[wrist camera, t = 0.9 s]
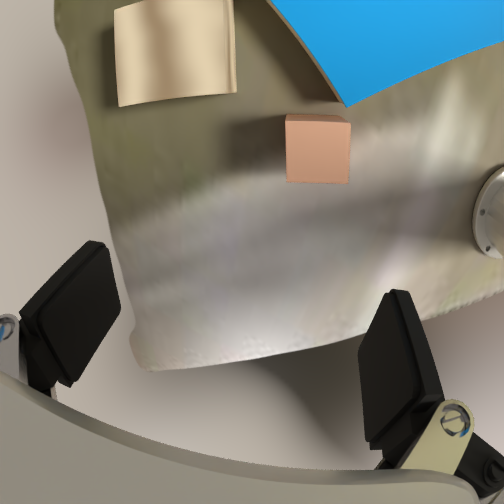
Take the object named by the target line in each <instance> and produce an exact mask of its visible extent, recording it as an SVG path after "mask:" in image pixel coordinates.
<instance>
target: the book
mask: <svg viewBox="0 0 504 504" xmlns="http://www.w3.org/2000/svg"><path fill="white" fill-rule="evenodd" d="M266 1H267V2H268V3H269V5H270V6H271V7H272V8H273V9H274V11H275V12H276V13H277V14H278V15H279V17H280V18H281V19H282V20H283V22H284V23H285V24H286V25H287V27H288V28H289V29H290V31H291V32H292V33H293V34H294V36H295V37H296V38H297V40H298V41H299V42H300V44H301V45H302V47H303V48H304V49H305V51H306V52H307V54H308V55H309V56H310V58H311V59H312V61H313V62H314V64H315V65H316V67H317V68H318V69H319V71H320V72H321V74H322V75H323V77H324V79H325V80H326V82H327V83H328V85H329V86H330V88H331V89H332V91H333V93H334V94H335V96H336V98H337V99H338V101H339V102H340V103H343V104H344V105H345V106H346V107H349V106H351V105H353V104H355V103H357V102H359V101H361V100H363V99H365V98H367V97H369V96H371V95H373V94H375V93H377V92H379V91H381V90H383V89H386V88H388V87H390V86H392V85H394V84H396V83H398V82H401V81H403V80H405V79H407V78H409V77H412V76H414V75H416V74H418V73H421V72H423V71H425V70H428V69H430V68H432V67H435V66H437V65H440V64H442V63H445V62H447V61H450V60H452V59H455V58H457V57H460V56H462V55H465V54H468V53H470V52H473V51H476V50H479V49H481V48H484V47H487V46H490V45H493V44H496V43H499V42H502V41H504V0H266Z"/></svg>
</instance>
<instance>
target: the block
mask: <svg viewBox="0 0 504 504" xmlns="http://www.w3.org/2000/svg"><path fill="white" fill-rule="evenodd" d="M285 128H286V174H287V182H303V183H338V184H348V178H349V159H350V131H351V123H350V122H348V121H347V120H345V119H343V118H342V117H340V116H334V115H304V114H287V115H286V120H285Z"/></svg>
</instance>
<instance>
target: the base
mask: <svg viewBox="0 0 504 504" xmlns="http://www.w3.org/2000/svg"><path fill="white" fill-rule="evenodd" d="M114 32H115V62H116V78H117V91H118V102H119V107H122V106H127V105H133V104H138V103H144V102H150V101H157V100H164V99H171V98H179V97H188V96H198V95H210V94H225V93H235V92H237V88H236V62H235V33H234V2H233V0H145V1H142V2H138V3H135V4H131V5H128V6H125V7H122V8H119V9H116V10H114Z"/></svg>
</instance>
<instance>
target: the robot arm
mask: <svg viewBox="0 0 504 504" xmlns="http://www.w3.org/2000/svg"><path fill="white" fill-rule="evenodd" d="M472 224H473V234H474V238H475V240H476V243H477V245H478V246H479V247H480V249H481V250H482V251H483V252H484V253H485V254H486V255H488V256H489V257H492V258H495V259H502V258H504V167H502V168H500V169H499V170H497V171H496V172H495V173H494V174H493V175H491V176H490V178H489V179H488V180H487V181H486V183H485V184H484V186H483V188H482V189H481V191H480V193H479V195H478V198H477V200H476V204H475V207H474V212H473V219H472ZM120 310H121V304H120V300H119V295H118V291H117V287H116V283H115V278H114V273H113V268H112V263H111V258H110V253H109V249H108V248H106V246H105V244H104V243H102V242H96V241H87V242H86V243H85V244H84V245H83V246H82V247H81V248H80V249H79V250H78V251H77V252H76V253H75V254H73V255H72V257H70V258H69V259H68V260H67V261H66V262H65V263H64V264H63V265H62V266H61V267H60V269H58V270H57V271H56V272H55V273H54V274H53V275H52V276H51V277H50V279H49V280H48V281H47V282H46V283H45V284H44V285H43V286H42V287H41V288H40V289H39V290H38V291H37V292H36V293H35V294H34V296H33V297H32V298H31V299H30V300H29V301H28V302H27V303H26V304H25V306H24V307H23V308H22V309H21V310H20V311H19V314H20V316H21V320H20V321H19V320H18V319H17V317H16V316H14V315H12V314H3V315H1V316H0V504H504V457H503V456H502V455H501V454H500V453H499V452H498V451H496V450H495V449H494V448H493V447H491V446H490V445H489V444H488V443H486V442H485V441H484V440H483V439H481V438H480V437H479V436H477V435H476V434H475V433H474V432H473V429H474V417H473V415H472V412H471V411H470V409H469V408H468V407H467V406H466V405H465V404H464V403H463V402H460V401H458V400H454V399H450V400H446V401H445V398H444V394H443V390H442V386H441V383H440V380H439V376H438V372H437V370H436V366H435V362H434V359H433V356H432V353H431V350H430V347H429V344H428V341H427V338H426V335H425V333H424V330H423V327H422V324H421V321H420V319H419V316H418V313H417V311H416V308H415V305H414V303H413V300H412V298H411V295H410V293H409V292H408V291H404V290H397V289H391V290H390V292H389V293H385V294H384V296H383V298H382V300H381V303H380V305H379V307H378V309H377V312H376V314H375V316H374V318H373V320H372V322H371V324H370V327H369V329H368V331H367V333H366V335H365V337H364V339H363V341H362V343H361V345H360V347H359V350H358V363H359V372H360V382H361V391H362V402H363V415H364V430H365V440H366V441H367V442H370V450H382V454H383V459H382V460H381V461H380V463H379V464H378V465H377V466H376V468H375V469H374V470H318V469H301V468H289V467H278V466H269V465H262V464H255V463H248V462H242V461H236V460H231V459H224V458H220V457H215V456H210V455H206V454H201V453H197V452H193V451H189V450H185V449H181V448H178V447H174V446H171V445H167V444H164V443H160V442H157V441H154V440H151V439H148V438H145V437H141V436H139V435H136V434H133V433H130V432H127V431H125V430H121V429H119V428H117V427H114V426H111V425H109V424H106V423H104V422H101V421H99V420H97V419H94V418H92V417H90V416H87V415H85V414H83V413H81V412H78V411H76V410H74V409H72V408H70V407H68V406H66V405H64V404H62V403H60V402H58V401H57V395H56V390H55V383H56V382H57V380H58V382H59V383H61V384H63V385H65V386H67V387H69V388H71V386H72V384H73V383H74V382H76V381H77V380H78V379H79V378H80V376H81V375H82V373H83V371H84V370H85V368H86V366H87V365H88V363H89V361H90V360H91V358H92V356H93V355H94V353H95V352H96V350H97V348H98V347H99V345H100V343H101V342H102V340H103V339H104V337H105V336H106V334H107V332H108V331H109V329H110V328H111V326H112V325H113V323H114V322H115V320H116V318H117V317H118V315H119V313H120Z"/></svg>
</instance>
